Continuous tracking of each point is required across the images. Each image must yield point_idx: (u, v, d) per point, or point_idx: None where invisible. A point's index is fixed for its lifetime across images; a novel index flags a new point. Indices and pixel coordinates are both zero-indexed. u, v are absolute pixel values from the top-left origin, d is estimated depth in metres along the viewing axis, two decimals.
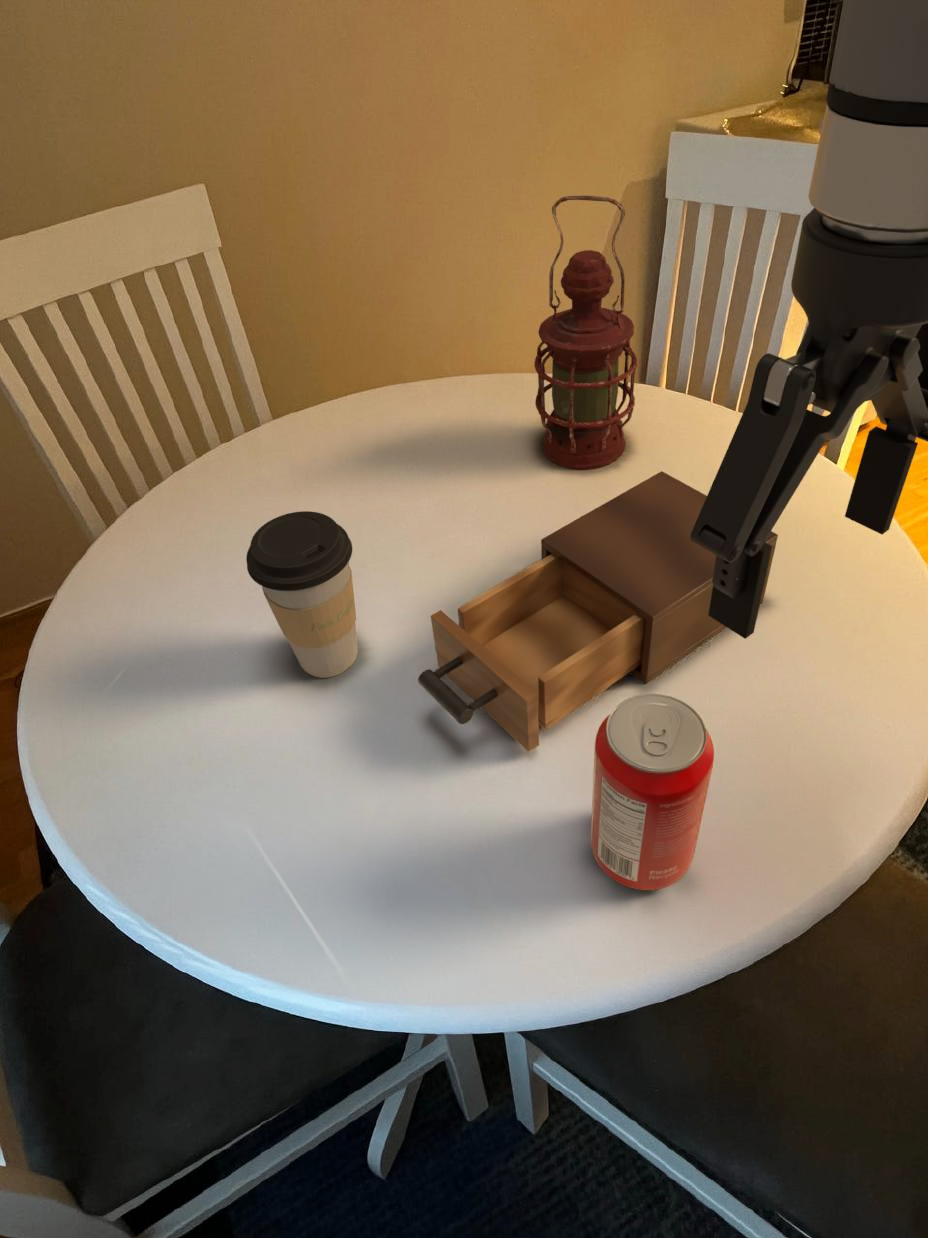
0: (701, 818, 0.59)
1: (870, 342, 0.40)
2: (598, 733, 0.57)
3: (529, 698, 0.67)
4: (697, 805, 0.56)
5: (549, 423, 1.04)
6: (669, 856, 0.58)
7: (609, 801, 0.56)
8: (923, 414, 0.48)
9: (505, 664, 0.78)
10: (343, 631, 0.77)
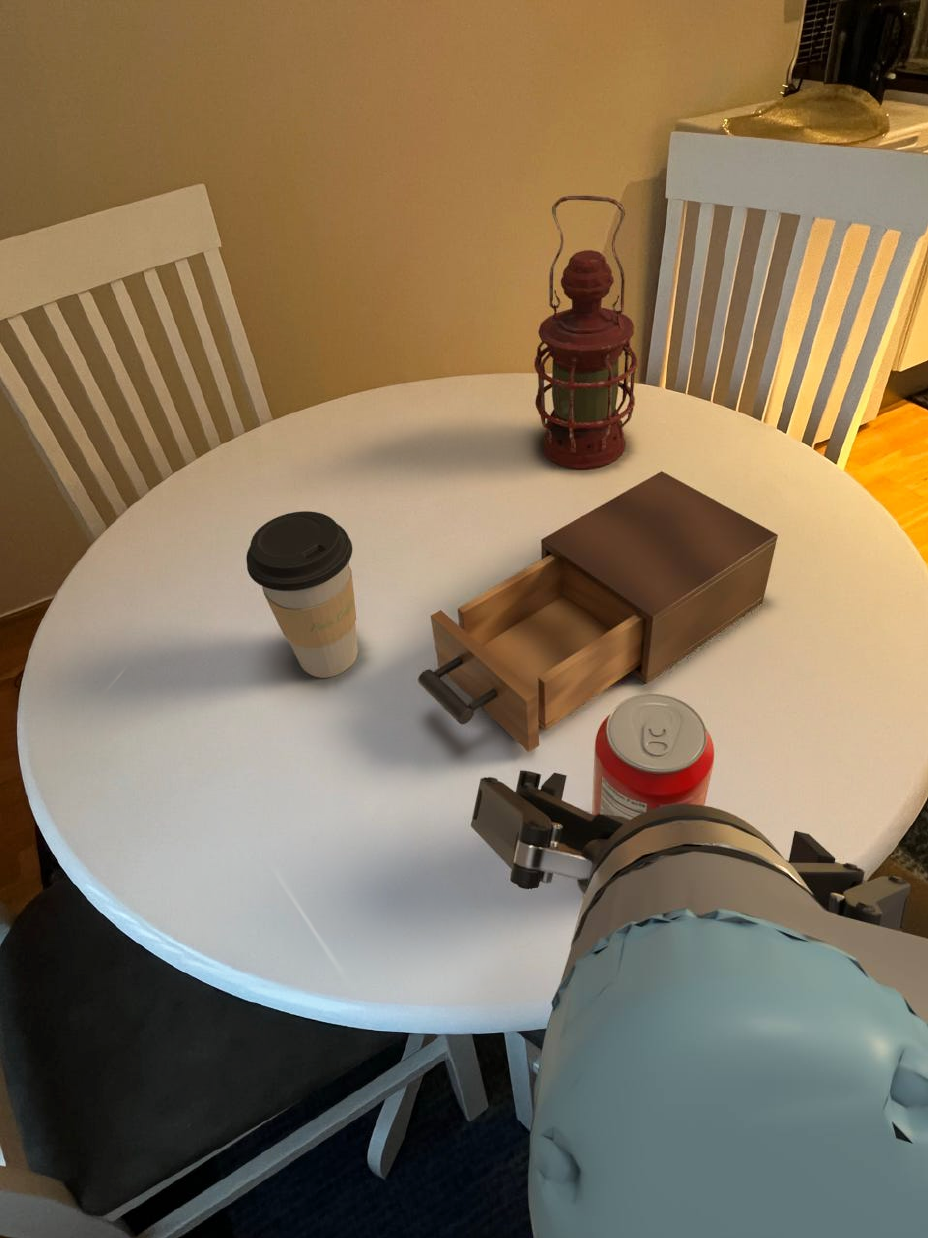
0: None
1: None
2: (598, 733, 0.57)
3: (529, 698, 0.67)
4: None
5: (549, 423, 1.04)
6: None
7: (609, 801, 0.56)
8: (540, 795, 0.41)
9: (505, 664, 0.78)
10: (343, 631, 0.77)
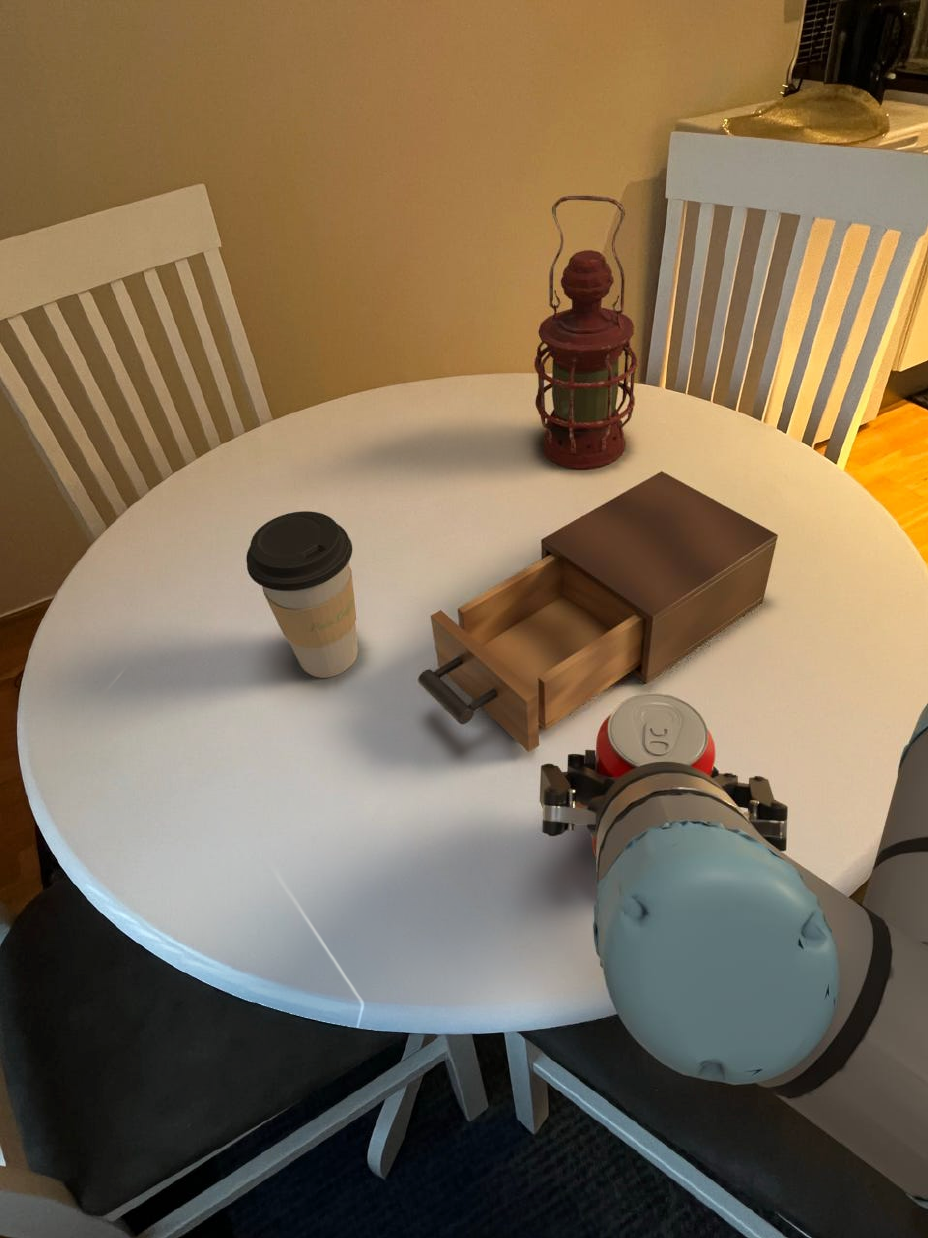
0: None
1: None
2: (599, 732, 0.57)
3: (529, 698, 0.67)
4: None
5: (549, 423, 1.04)
6: None
7: None
8: (581, 770, 0.56)
9: (505, 664, 0.78)
10: (343, 631, 0.77)
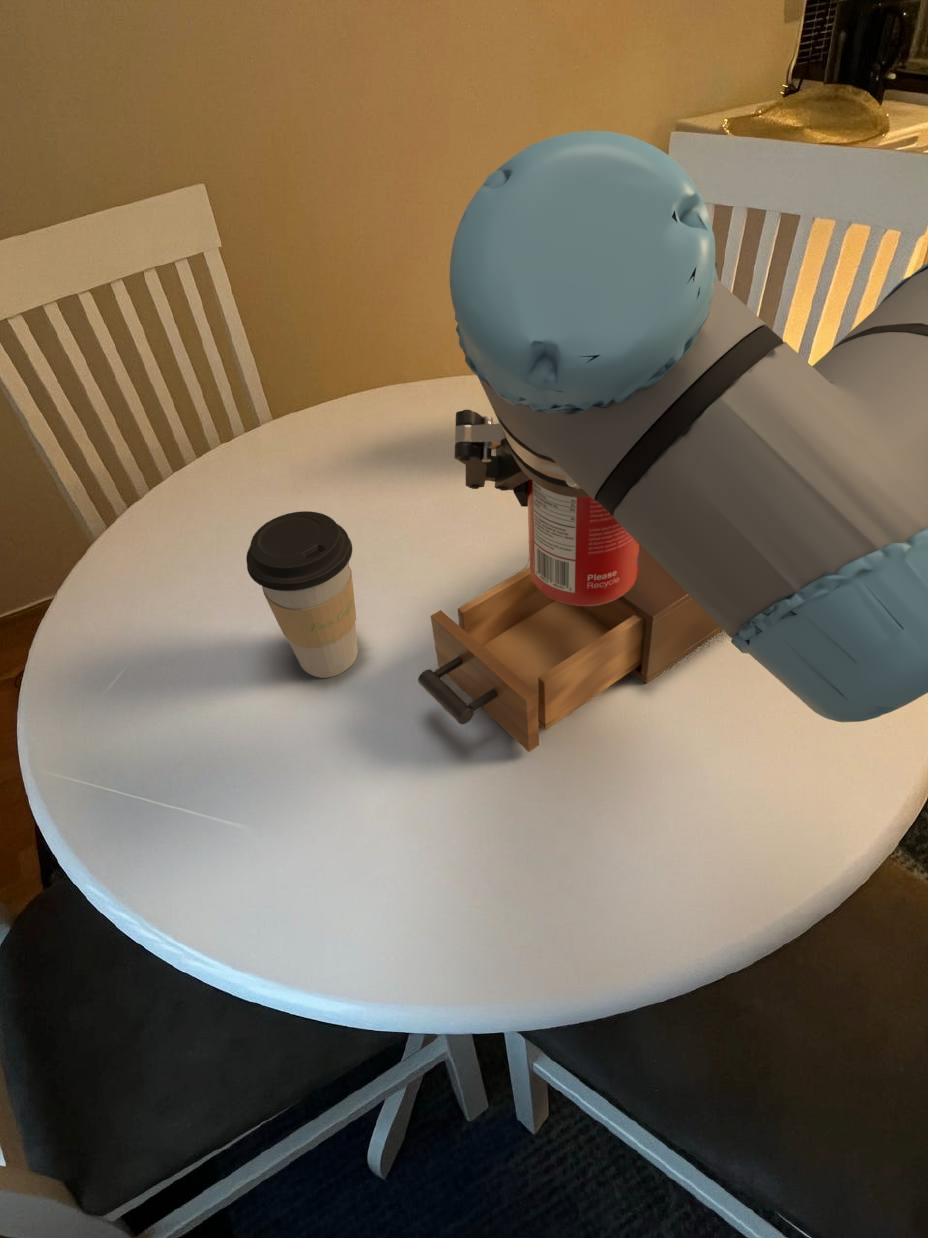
0: None
1: None
2: None
3: (529, 698, 0.67)
4: None
5: None
6: (606, 553, 0.55)
7: None
8: None
9: (505, 664, 0.78)
10: (343, 631, 0.77)
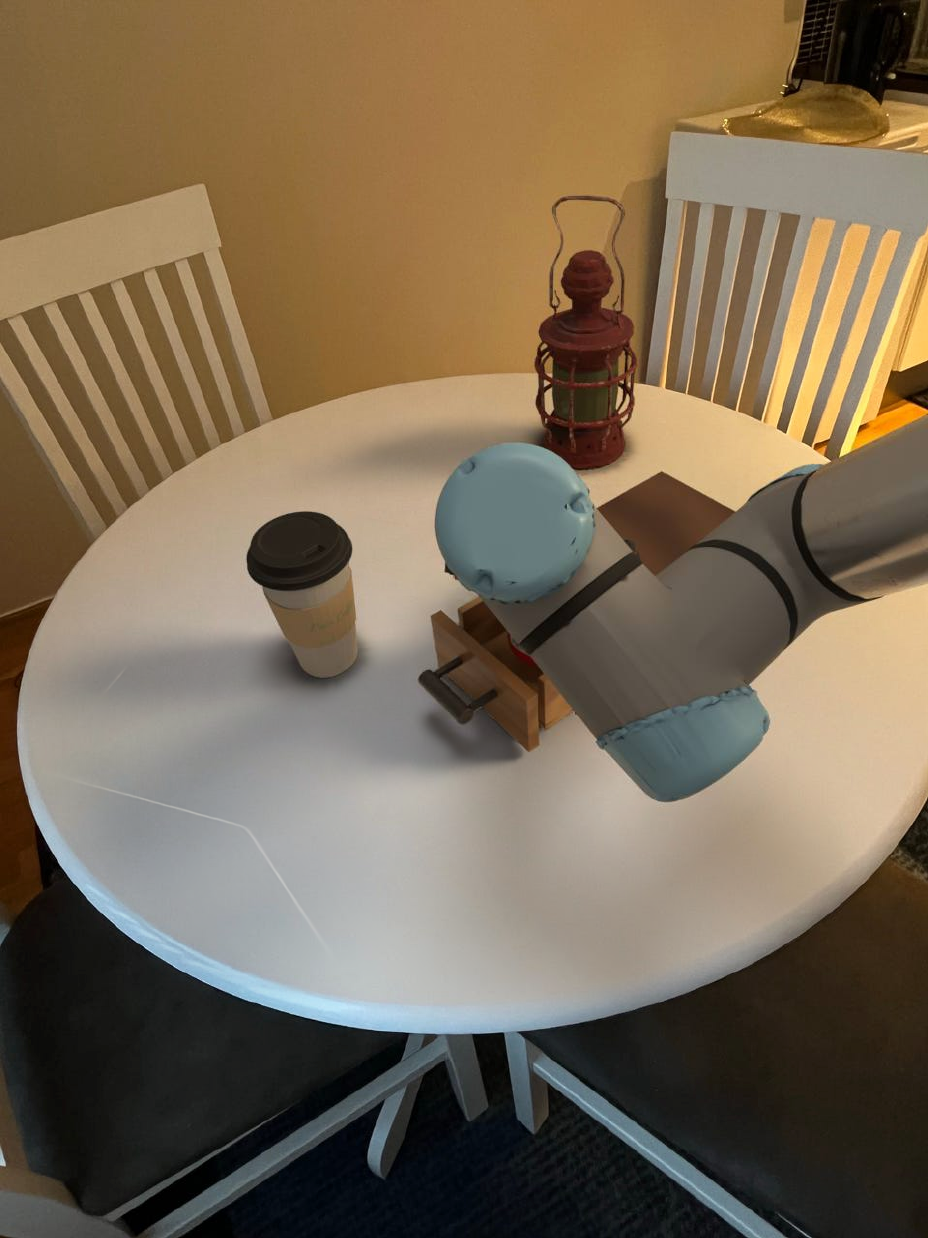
0: None
1: None
2: None
3: (529, 698, 0.67)
4: None
5: (549, 423, 1.04)
6: None
7: None
8: None
9: (505, 664, 0.78)
10: (343, 631, 0.77)
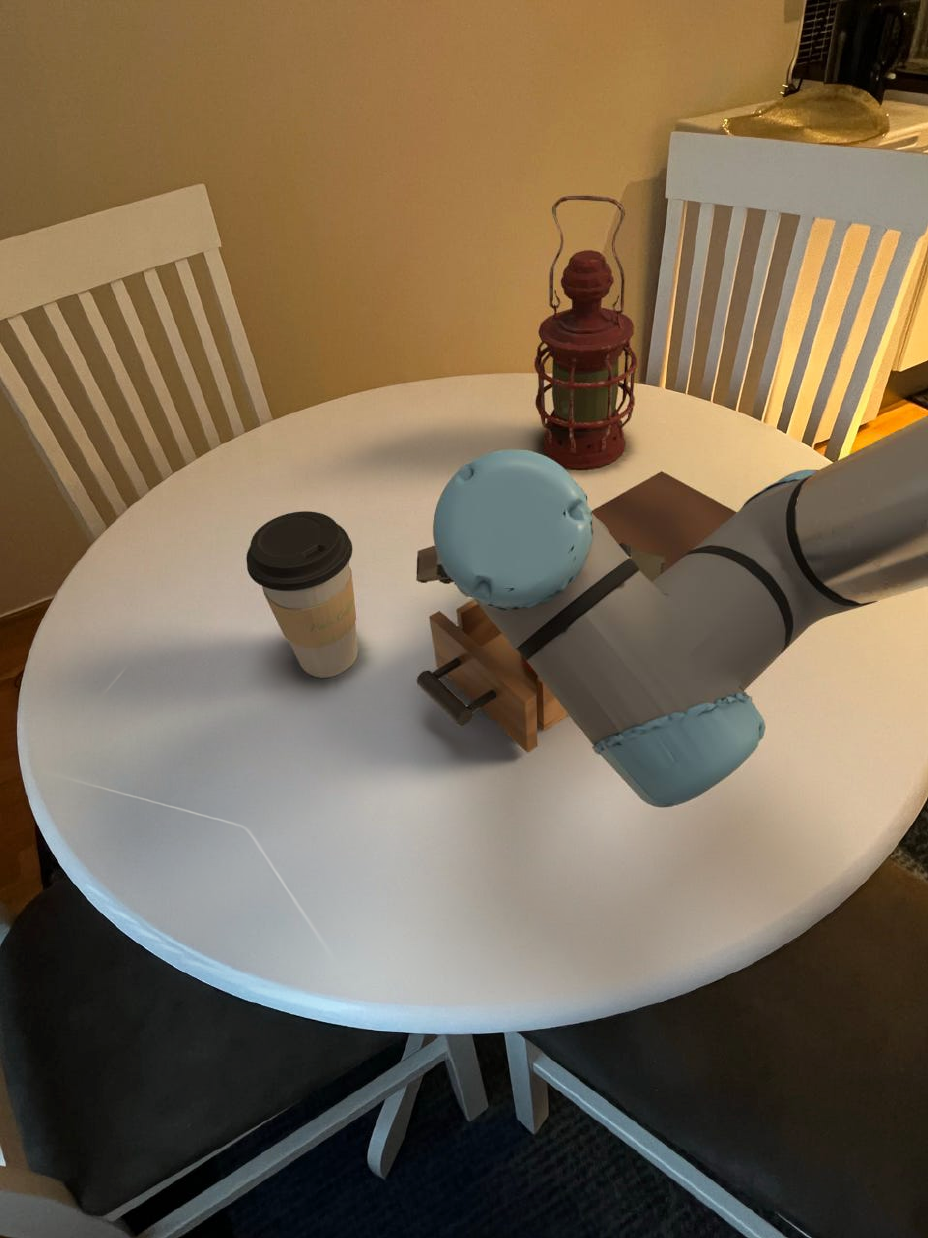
0: None
1: None
2: None
3: (528, 699, 0.67)
4: None
5: (549, 423, 1.04)
6: None
7: None
8: None
9: (504, 665, 0.78)
10: (343, 631, 0.77)
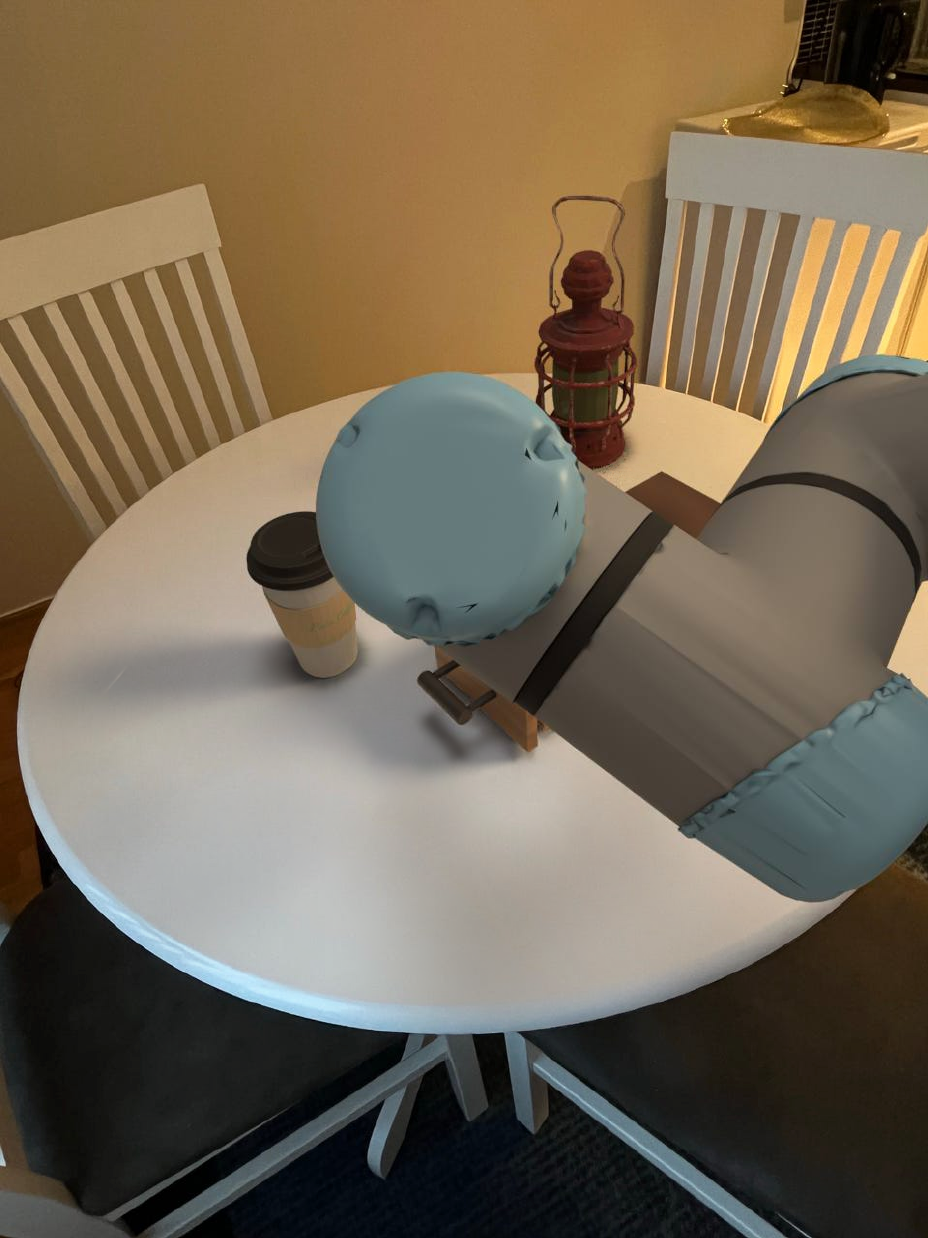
0: None
1: None
2: None
3: None
4: None
5: None
6: None
7: None
8: None
9: None
10: (343, 631, 0.77)
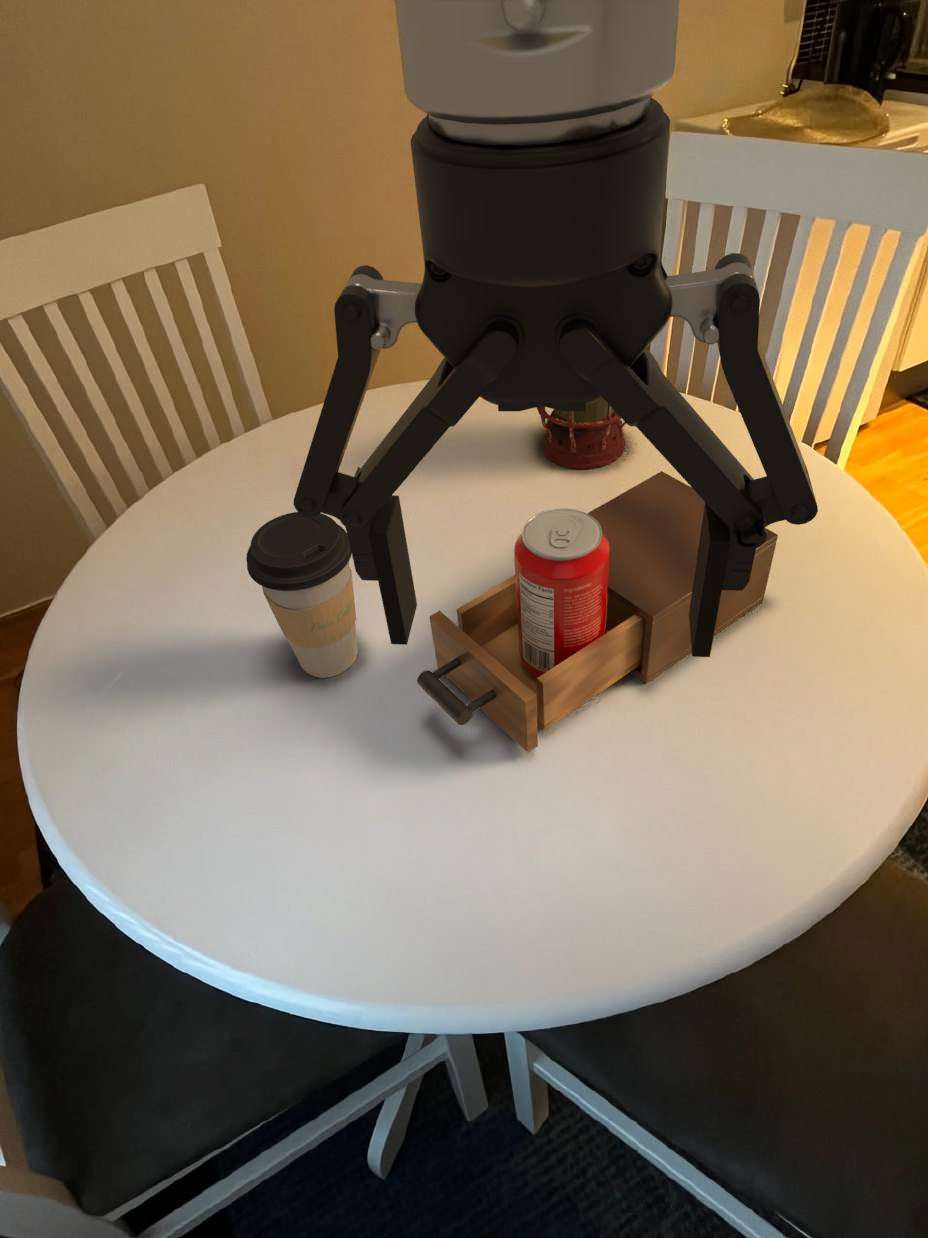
0: (604, 615, 0.71)
1: None
2: (517, 540, 0.69)
3: (528, 699, 0.67)
4: (597, 595, 0.68)
5: (549, 423, 1.04)
6: (578, 646, 0.71)
7: (526, 595, 0.69)
8: None
9: (504, 665, 0.78)
10: (343, 631, 0.77)
